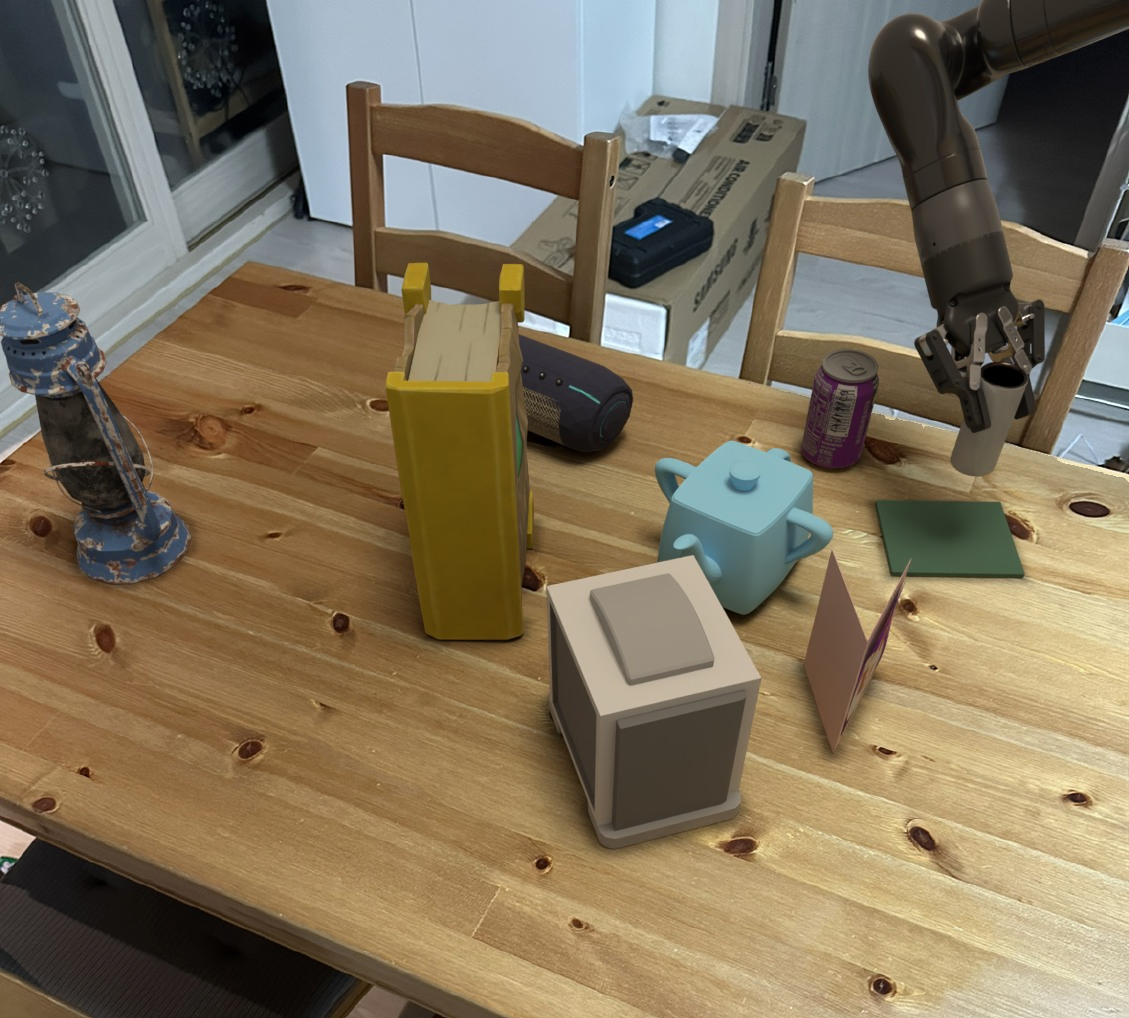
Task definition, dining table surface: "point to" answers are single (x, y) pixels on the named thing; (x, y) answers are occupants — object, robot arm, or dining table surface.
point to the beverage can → (840, 408)
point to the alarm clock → (650, 698)
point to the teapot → (740, 520)
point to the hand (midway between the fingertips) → (1003, 422)
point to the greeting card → (843, 651)
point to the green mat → (948, 539)
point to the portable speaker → (572, 397)
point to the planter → (1002, 399)
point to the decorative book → (464, 456)
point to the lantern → (89, 442)
